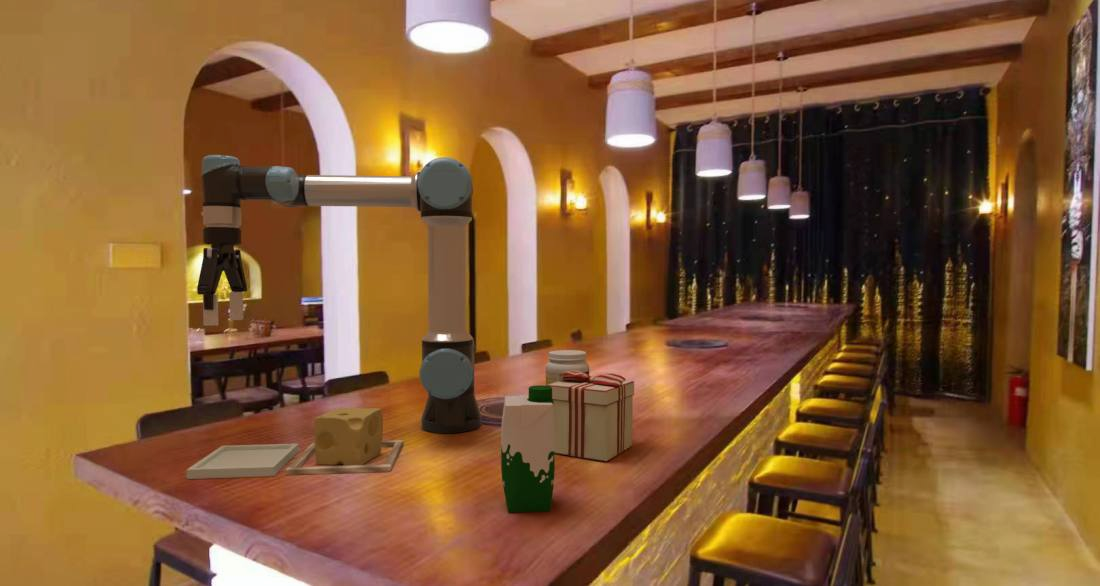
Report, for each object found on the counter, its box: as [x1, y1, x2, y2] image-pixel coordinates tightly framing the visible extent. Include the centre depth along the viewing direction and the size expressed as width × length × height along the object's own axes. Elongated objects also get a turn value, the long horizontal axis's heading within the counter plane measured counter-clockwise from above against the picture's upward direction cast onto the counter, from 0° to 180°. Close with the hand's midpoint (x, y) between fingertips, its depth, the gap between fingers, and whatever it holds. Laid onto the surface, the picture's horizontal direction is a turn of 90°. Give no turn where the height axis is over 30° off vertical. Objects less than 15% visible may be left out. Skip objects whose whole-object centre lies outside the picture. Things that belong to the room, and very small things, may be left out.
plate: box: [186, 443, 300, 480], centre depth 128 cm, size 16×16×2 cm
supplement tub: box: [545, 349, 590, 386], centre depth 172 cm, size 12×12×17 cm
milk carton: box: [500, 384, 556, 514], centre depth 106 cm, size 9×9×20 cm
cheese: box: [314, 407, 384, 466], centre depth 132 cm, size 10×11×10 cm
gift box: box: [545, 370, 635, 462], centre depth 140 cm, size 17×18×17 cm
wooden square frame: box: [284, 439, 404, 476], centre depth 132 cm, size 20×19×1 cm
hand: (224, 322), depth 139 cm, fingers open, 13 cm apart
